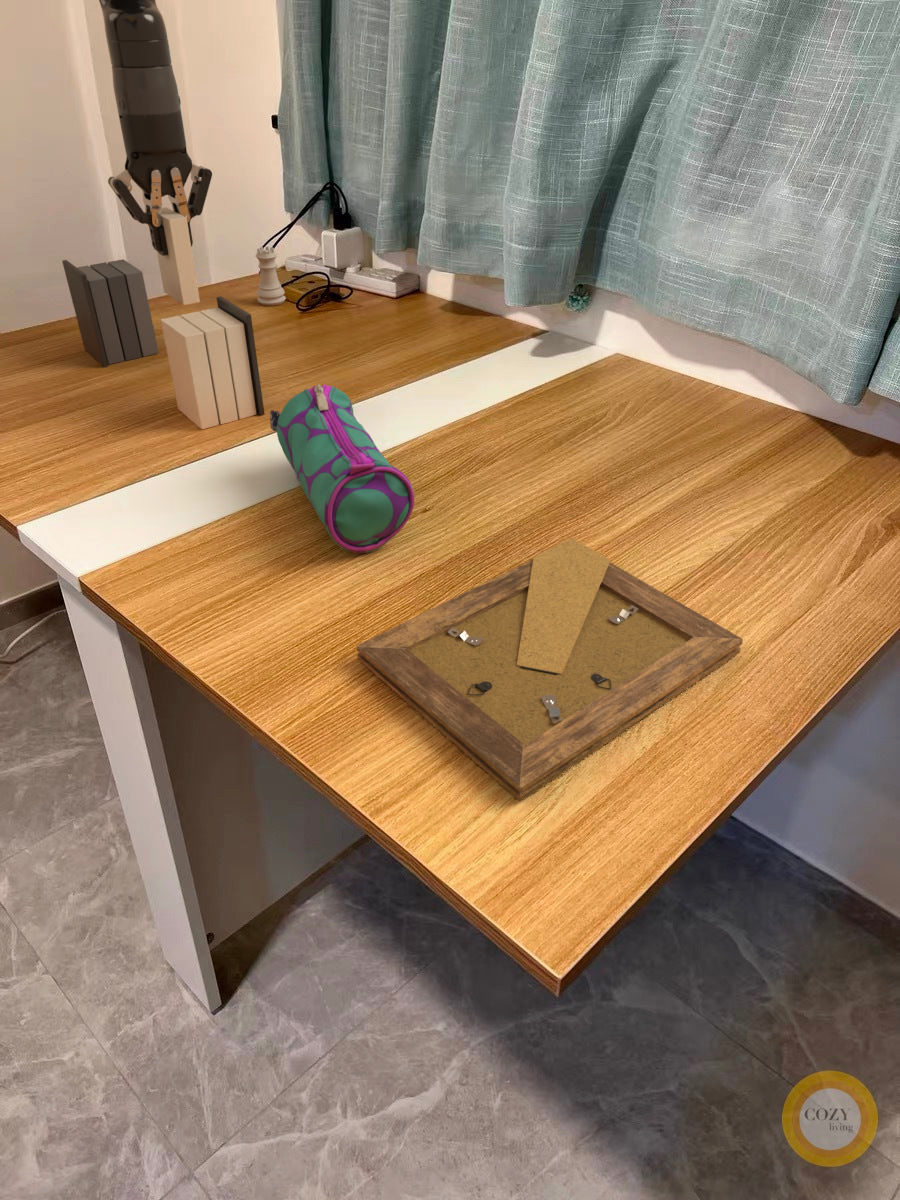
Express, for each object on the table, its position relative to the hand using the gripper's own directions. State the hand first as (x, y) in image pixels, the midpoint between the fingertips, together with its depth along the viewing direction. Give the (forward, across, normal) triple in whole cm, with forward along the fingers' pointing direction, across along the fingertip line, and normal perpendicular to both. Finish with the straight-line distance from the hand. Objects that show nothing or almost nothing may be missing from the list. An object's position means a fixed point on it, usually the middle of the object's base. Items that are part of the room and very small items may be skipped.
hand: (173, 251), depth 120 cm
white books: (+12, +7, +26) cm, 29 cm away
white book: (+6, 0, 0) cm, 6 cm away
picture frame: (+12, +5, +84) cm, 85 cm away
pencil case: (+12, +6, +54) cm, 56 cm away
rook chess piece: (+12, -17, -7) cm, 22 cm away
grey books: (+12, +9, 0) cm, 15 cm away
